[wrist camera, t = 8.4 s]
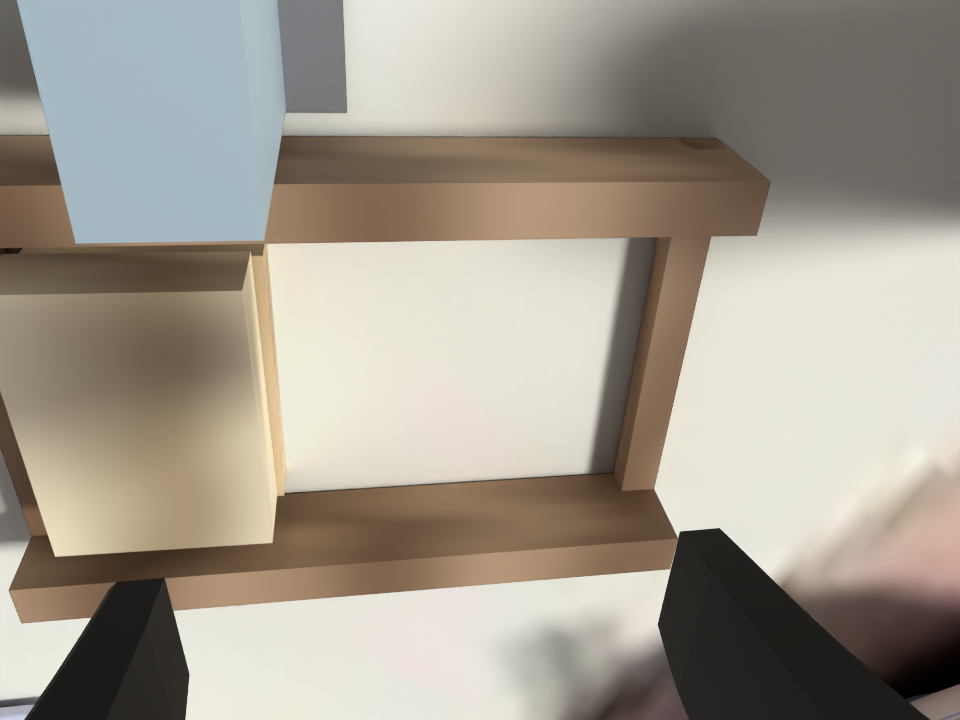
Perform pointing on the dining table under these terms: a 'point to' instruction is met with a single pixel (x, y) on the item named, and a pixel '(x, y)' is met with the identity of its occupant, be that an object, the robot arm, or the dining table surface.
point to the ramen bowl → (939, 704)
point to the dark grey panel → (313, 55)
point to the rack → (441, 507)
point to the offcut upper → (139, 398)
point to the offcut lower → (264, 318)
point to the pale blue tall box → (161, 114)
